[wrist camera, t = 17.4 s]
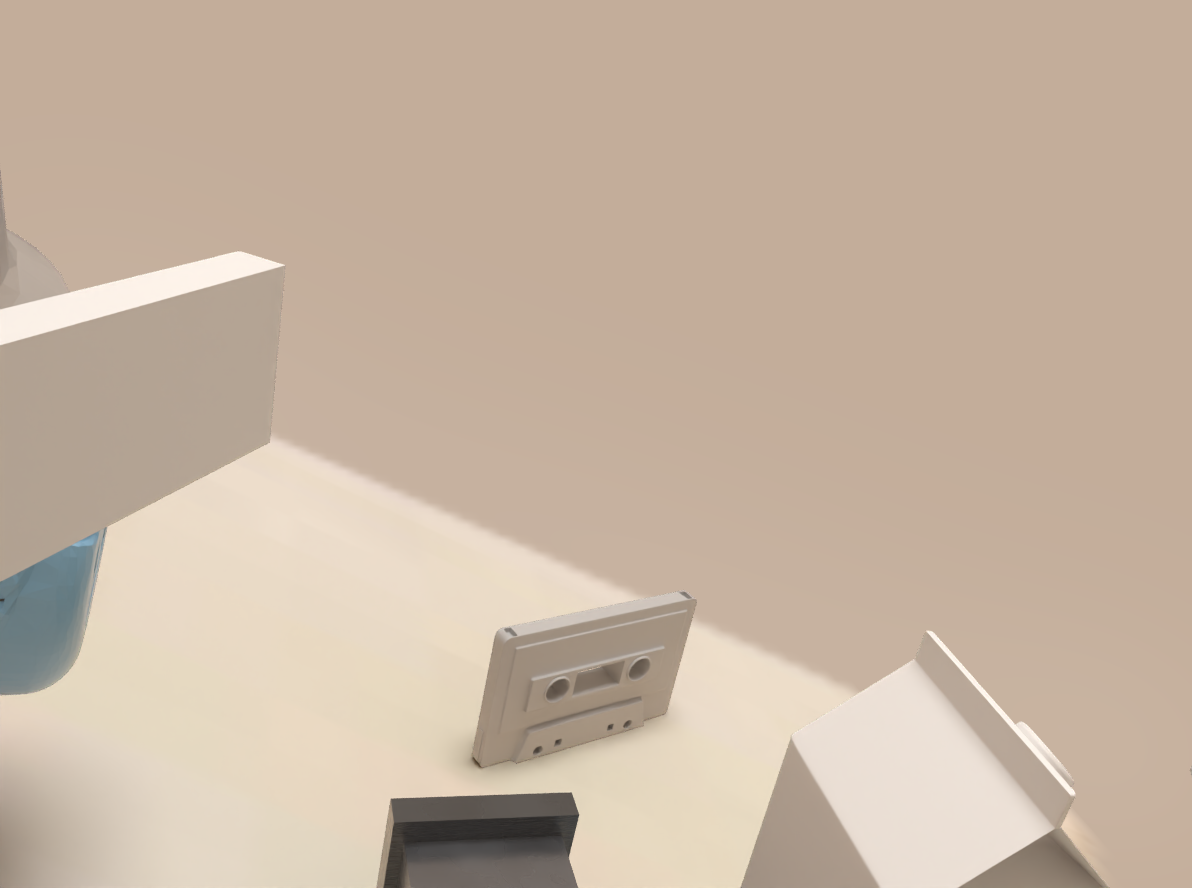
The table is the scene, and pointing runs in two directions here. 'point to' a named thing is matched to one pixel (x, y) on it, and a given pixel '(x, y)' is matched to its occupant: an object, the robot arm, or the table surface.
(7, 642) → the robot arm
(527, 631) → the cassette
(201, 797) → the table surface
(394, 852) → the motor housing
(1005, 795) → the milk carton
